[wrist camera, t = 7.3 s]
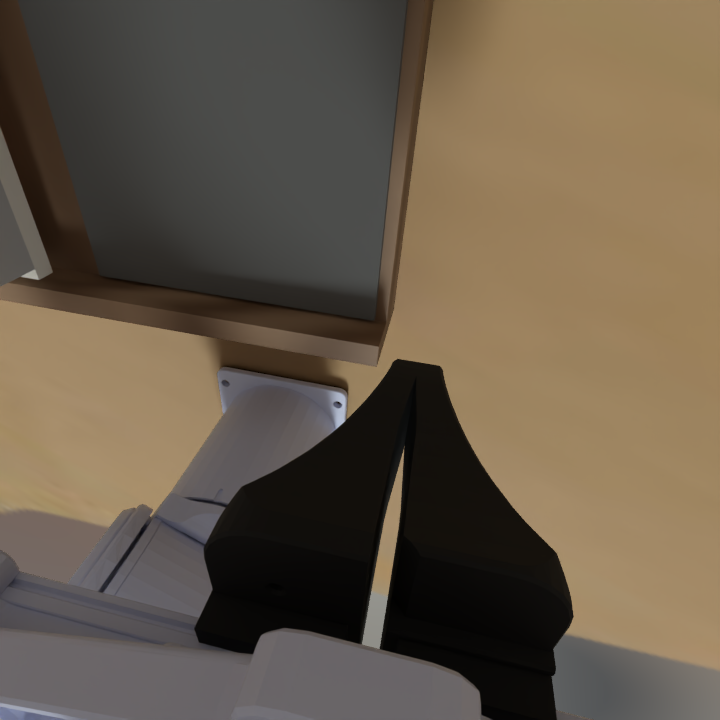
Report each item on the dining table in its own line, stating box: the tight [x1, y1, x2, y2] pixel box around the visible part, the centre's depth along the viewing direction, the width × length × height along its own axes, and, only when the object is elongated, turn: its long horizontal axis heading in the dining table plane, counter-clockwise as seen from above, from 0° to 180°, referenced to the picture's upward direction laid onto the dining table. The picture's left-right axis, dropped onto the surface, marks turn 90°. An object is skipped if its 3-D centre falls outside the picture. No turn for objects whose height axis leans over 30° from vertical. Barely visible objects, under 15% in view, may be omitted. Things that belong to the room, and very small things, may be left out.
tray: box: [0, 0, 434, 367], centre depth 18 cm, size 28×15×5 cm, turn 86°
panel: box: [18, 0, 408, 321], centre depth 16 cm, size 13×13×1 cm
